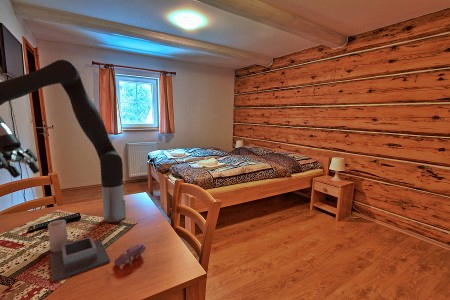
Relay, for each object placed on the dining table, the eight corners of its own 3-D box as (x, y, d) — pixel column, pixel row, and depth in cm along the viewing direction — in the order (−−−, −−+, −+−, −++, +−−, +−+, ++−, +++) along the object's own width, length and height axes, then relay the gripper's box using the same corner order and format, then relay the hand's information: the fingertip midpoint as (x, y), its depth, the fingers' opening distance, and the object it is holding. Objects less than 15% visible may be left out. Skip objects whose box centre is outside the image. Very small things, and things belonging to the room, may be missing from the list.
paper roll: (67, 242, 90) (65, 218, 89) (68, 248, 86) (66, 223, 85) (50, 247, 87) (47, 222, 85) (50, 253, 83) (48, 227, 81)
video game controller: (119, 273, 75) (124, 259, 73) (112, 263, 77) (116, 249, 74) (144, 258, 84) (149, 245, 81) (136, 249, 85) (141, 236, 83)
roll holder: (100, 241, 91) (99, 230, 90) (110, 261, 79) (109, 248, 78) (50, 257, 81) (48, 244, 80) (52, 282, 69) (51, 267, 68)
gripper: (-10, 133, 77) (18, 172, 78) (26, 133, 91) (50, 166, 93) (-28, 144, 77) (1, 183, 79) (11, 142, 92) (35, 176, 93)
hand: (27, 174), depth 86 cm, fingers open, 8 cm apart
